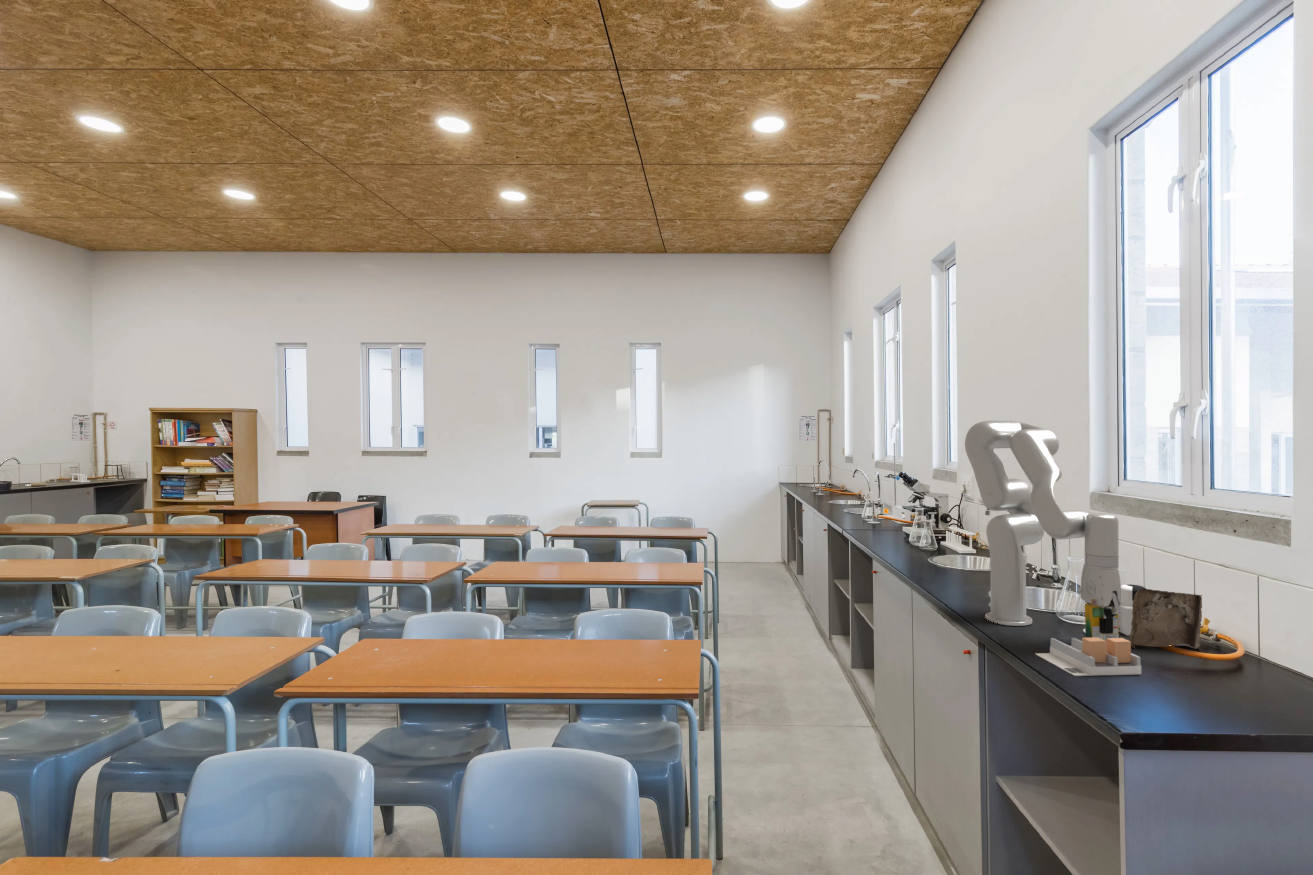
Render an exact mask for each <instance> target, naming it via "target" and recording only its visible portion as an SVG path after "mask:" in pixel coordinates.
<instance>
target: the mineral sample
mask: <svg viewBox="0 0 1313 875" xmlns="http://www.w3.org/2000/svg"><path fill="white" fill-rule="evenodd" d="M1202 596H1203V594H1196V593H1195V594H1192V593H1185V592H1175V591H1169V590H1166V591H1165V590H1158V589H1157V590H1156V589H1151V588H1149V589H1148V588H1146V589H1140V590H1138V591H1137V593H1136V594H1135V597H1134V601H1133V605H1132V607H1133V609H1132V610H1133V611H1132V614H1133V618H1132V622H1131V625H1132V628H1131V634H1130V636H1128V639H1127V640H1128V641H1131V648H1133V649H1136V646H1143V647H1157V648H1158V647H1159V648H1169V645H1174V644H1189V645H1190V646H1192V647H1195V648H1198V647H1199V648H1200V646H1202V645H1201V640H1202V638H1201V625H1202V619H1203V618H1202V617H1203V616H1202V614H1203V612H1202V609H1203V599H1202V598H1203V597H1202Z"/></svg>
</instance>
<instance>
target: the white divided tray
mask: <svg viewBox="0 0 1313 875" xmlns="http://www.w3.org/2000/svg"><path fill="white" fill-rule="evenodd" d="M1092 638H1093V637H1092ZM1035 655H1036V656H1038V657H1039V658H1042V659H1043V660H1045V661H1047V662H1048V663H1050V664H1053V665H1054V666H1056V667H1057V668H1059V669H1061V670H1062V671H1065V672H1067V673H1068V674H1070V675H1072V676H1074V677H1084V676H1085V677H1087V676H1092V677H1093V676H1123V675H1124V676H1125V675H1126V676H1127V675H1128V676H1130V675H1133V676H1134V675H1142V665H1141V656H1139V655H1137V654H1134V653H1132V652H1131V662H1130V663H1118V658H1117V657H1115V656H1113V655H1111V654H1109V653H1107V652H1106V662H1095V658H1093V657H1091V656H1089V655H1087V654H1085V653H1083V652H1082V639H1081V640H1080V639H1078V638H1076V637H1071V645H1069V644H1066V643H1064V642H1063V641H1060V640H1059V639H1057V638H1055V637H1050V646H1049V652H1047V653H1046V652H1042V653H1041V652H1039V653H1037V652H1036V653H1035Z"/></svg>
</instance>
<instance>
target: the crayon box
mask: <svg viewBox="0 0 1313 875" xmlns="http://www.w3.org/2000/svg"><path fill="white" fill-rule="evenodd" d="M1091 600H1092V604H1087V603H1084V621H1085V622H1084V624H1085V628H1084V629H1085V633H1084V635H1085V637H1084V638H1092V637H1098V638H1100V639H1102V640H1105V641H1106V638H1120V637H1119V636H1120V632H1119V628H1118V613H1117V614H1116V615H1115V618H1114V619H1113V633H1112V634H1102V633H1100V618H1102V617H1101V607H1099V606H1096V605H1095V600H1094V599H1091ZM1109 606H1110V604H1109ZM1107 610H1109V609H1106V611H1107Z"/></svg>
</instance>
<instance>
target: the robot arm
mask: <svg viewBox="0 0 1313 875" xmlns="http://www.w3.org/2000/svg"><path fill="white" fill-rule="evenodd" d="M1059 447H1060V442H1059V439H1058V437H1057V435H1056V434H1055V433H1054V432H1053V431H1051V430H1049V429H1046V428H1044V427H1039V426H1037V425H1032V424H1029V423H1024V422H1022V421H1016V420H985V421H980V422H977V423H975V424H973V425H972V426H971V427H970V428H969V429H968V431H967V433H966V435H965V439H964V449H965V453H966V456H967V459H968V461H969V463H970V465H971V468H972V470H973V473H974V474H973V475H974V477H975V481H976V484H977V487H978V491H979V494H980V498H981V500H982V504H983V505H984V507H985V508H986V509H988V510H989V511H992V512H995V511H996V512H1002V511H1009V513H1008V514H1007V513H1006V514H1005V513H1004V514H999V515H996V516H994V517H993V518H991V519H990V520H988V522H987V525H986V530H985V532H986V533H985V534H986V538H987V543H988V548H989V567H990V571H989V573H990V574H989V575H990V579H989V581H990V602H989V603H988V606H989V608H990V612H986V613H985V615H984V619H985V618H986V619H987V620H986V619H985V620H986V621H988V620H989V621H988V622H990V621H991V622H990V623H993V622H994V624H997V623H998V625H1003V626H1012V627H1022V626H1023V627H1024V626H1029V625H1032V623H1033V618H1032V617H1031V616H1029V615H1027V563H1026V557H1025V555H1024V552H1023V550H1022V547H1021V546H1028V545H1035V544H1037V543H1039V542H1041V540H1042V539H1043V537H1044V536H1045V533H1046V534H1047V535H1048V536H1049V537H1051V538H1053V539H1056V540H1070V539H1081V538H1083V539H1084V563H1083V565H1082V566H1083V567H1082V571H1081V578H1080V599H1081V600H1082V601H1084V602H1085V604H1092V600H1091V599H1094V600H1095V605H1096V606H1099V607H1101V617H1102V618H1100V633H1102V634H1112V633H1113V619H1114V618H1115V615H1116V614H1117V613H1120V612H1121V609H1120V605H1121V586H1122V585H1121V576H1120V570H1119V560H1120V559H1119V557H1120V556H1119V519H1118V517H1117V516H1116V515H1114V514H1109V513H1101V512H1100V513H1095V512H1091V511H1087V510H1083V509H1070V510H1062V509H1061V507H1060V505H1059V504H1058V502H1057V500H1056V498H1055V494H1054V486H1055V484H1056V483H1057V482H1058V481H1059V480H1060V479H1061V478H1062V475H1063V471H1062V469H1061V468H1060V467H1059V465H1058V463H1057V462H1056V460H1055V458H1054V456H1055V455H1056V454H1057V453H1058V451H1059ZM995 449H1010V451H1011V452H1012V454H1013V456H1014V458H1015V459H1016V461H1017V463H1018V464H1019V466H1020V468H1021V469H1022V471H1023V472H1024V474H1025V476H1026V478H1027V480H1028V481H1029V483H1030V485H1031V486H1030V485H1029V483H1027V481H1025V480H1023V479H1019V478H1009V477H1008V475H1007V472H1006V470H1005V467H1004V463H1003V462H1002V460H1001V458H1000V457H999V456H998V455H997V454H996V453H995V451H994V450H995ZM1109 604H1110V606H1109ZM1106 609H1109V610H1107V611H1106Z"/></svg>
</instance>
